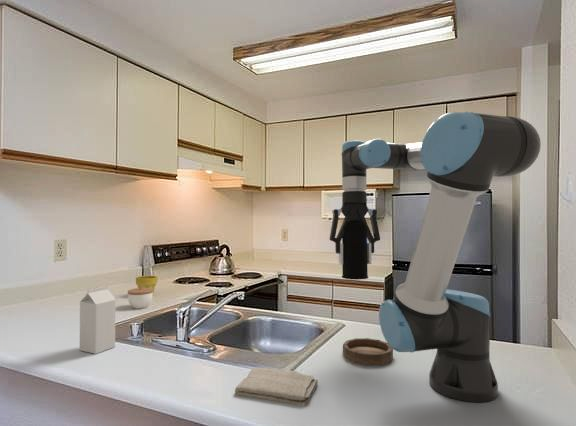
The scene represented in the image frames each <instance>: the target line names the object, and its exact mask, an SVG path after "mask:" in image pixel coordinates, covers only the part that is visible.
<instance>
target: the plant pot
mask: <svg viewBox="0 0 576 426" xmlns="http://www.w3.org/2000/svg"><path fill="white" fill-rule="evenodd" d="M157 284H158V276H157V275H140V276H137V277H135V285H136V286H137V288H139V286H142V288H151V289H153V295H154V294H155V289H156V285H157Z"/></svg>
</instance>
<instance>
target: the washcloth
mask: <svg viewBox="0 0 576 426" xmlns="http://www.w3.org/2000/svg"><path fill="white" fill-rule="evenodd" d="M314 376H315V375H308V374H303V373H299V372H298V371H297V370H285V369H283V370H282V369H278V368H265V367H261V366H260V367H258V366H257V367H254V368H252V369H251V370H250V371H249V373H248V375H247V376H246V378H244V379H242V380H241V382H240V383H239V384H237V386H236V387H235V389H234V394H235V395H237V396H242V397H248V398H256V399H260V400H268V401H275V402H279V403H280V402H281V403H285V404H286V403H288V404H294V405H299V406H306V403H308V402H309V401H310V400H311V399H312V396H313V394H314V393H315V391H316V388H317V386H318V383H319V381H318V379H316V378H315V377H314Z"/></svg>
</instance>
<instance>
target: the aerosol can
mask: <svg viewBox="0 0 576 426" xmlns="http://www.w3.org/2000/svg"><path fill="white" fill-rule="evenodd" d="M368 227H369V226H368ZM368 227H367V226H366V225H365V224H364V223H363V222H361V221H358V220H353V221H350V222H349V223H347V224H346V225H345V227H343V228H344V235H343V237H342V240H341V243H343V265H341V266H342V267H341V268H342V275H341V278H343V279H345V280H358V281H359V280H367V279H369V276H368V272H369V271H368V264H367V243H368V239H367V228H368Z"/></svg>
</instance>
